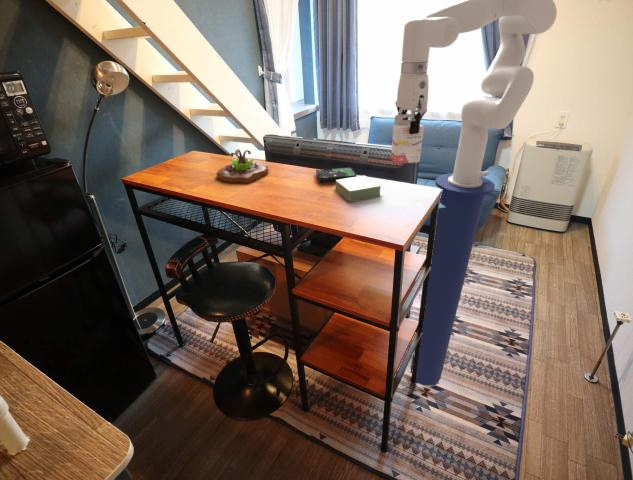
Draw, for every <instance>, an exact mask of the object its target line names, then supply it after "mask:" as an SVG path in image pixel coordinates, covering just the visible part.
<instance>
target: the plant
mask: <svg viewBox="0 0 633 480" xmlns="http://www.w3.org/2000/svg"><path fill="white" fill-rule="evenodd" d="M246 153H247V154H248V155H251V154H252V152H251V151H250V150H248V149H245V151H244V152H243V154H242V152H241V150H240V149H235V151H234V152H231V153H230V154H229V156H230V157H234V156H236V158H235V159H230V160H229V161H230V162H231V163H230V164H227V165H224V166H223V167H221V168H219V169H218V170H217V172H216V177H217V179H220V180H221V181H222V182H226V183H232V184H237V183H242V184H249V183H252V182H254V181H256V180H258V179H260V178H261V177H265V176H266V175H267V174H268V172H269V171H268V170H269V169H268V168H269V167H268V165H267V164H266V163H260V162H257V161H254V159H251V160H249V158H248V157H246Z"/></svg>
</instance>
